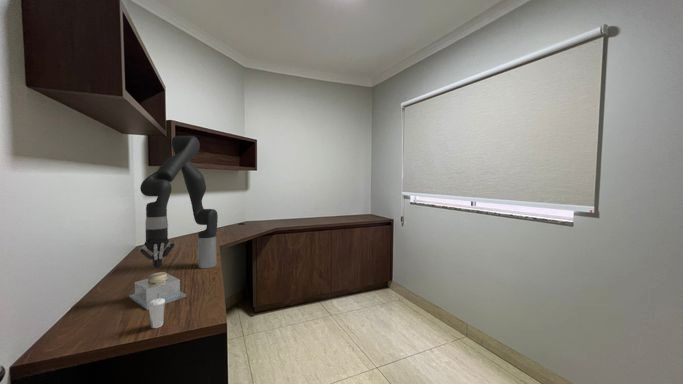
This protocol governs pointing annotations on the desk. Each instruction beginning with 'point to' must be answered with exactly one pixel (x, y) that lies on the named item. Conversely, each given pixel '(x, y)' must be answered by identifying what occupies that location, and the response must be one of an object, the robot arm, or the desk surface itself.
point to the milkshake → (156, 312)
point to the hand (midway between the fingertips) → (157, 267)
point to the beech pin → (157, 277)
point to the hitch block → (157, 291)
